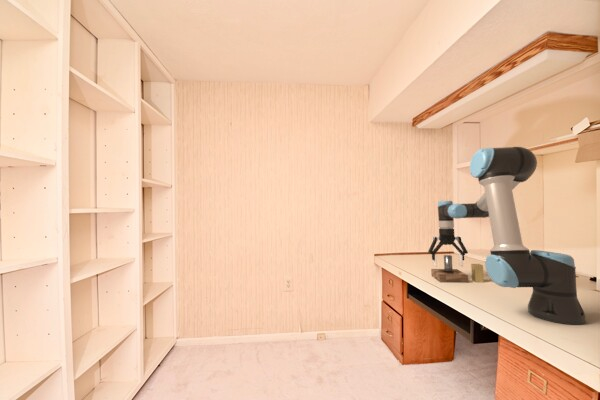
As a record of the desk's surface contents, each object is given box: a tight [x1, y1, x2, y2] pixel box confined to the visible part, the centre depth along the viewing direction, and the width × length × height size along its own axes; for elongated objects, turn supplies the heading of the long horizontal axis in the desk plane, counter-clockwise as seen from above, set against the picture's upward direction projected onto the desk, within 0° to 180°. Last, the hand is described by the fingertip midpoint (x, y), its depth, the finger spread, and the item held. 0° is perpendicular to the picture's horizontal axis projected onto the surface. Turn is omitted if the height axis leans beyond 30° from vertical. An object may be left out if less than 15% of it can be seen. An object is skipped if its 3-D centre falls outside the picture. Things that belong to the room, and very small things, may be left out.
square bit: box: [470, 263, 485, 283], centre depth 143 cm, size 4×4×9 cm
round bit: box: [443, 254, 454, 273], centre depth 149 cm, size 4×4×12 cm
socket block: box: [430, 268, 469, 283], centre depth 149 cm, size 14×14×4 cm
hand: (448, 266), depth 149 cm, fingers open, 13 cm apart
